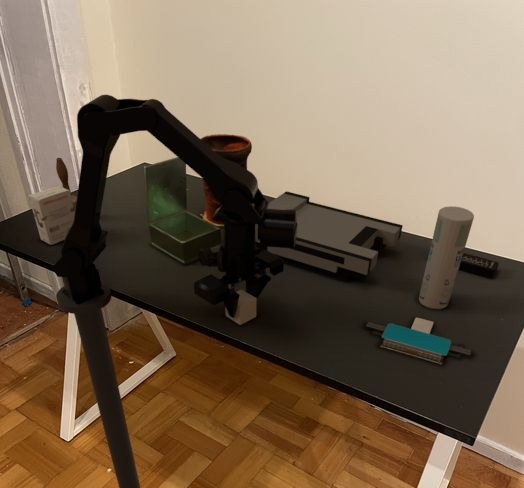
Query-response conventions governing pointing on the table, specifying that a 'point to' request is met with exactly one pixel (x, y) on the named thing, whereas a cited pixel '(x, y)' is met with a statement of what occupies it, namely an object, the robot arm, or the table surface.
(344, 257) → the game console
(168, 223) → the storage tray
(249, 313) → the white block
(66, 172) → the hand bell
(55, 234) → the ink box
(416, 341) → the teal block with rod
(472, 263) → the multiport hub
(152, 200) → the box lid
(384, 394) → the table surface
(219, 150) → the vessel
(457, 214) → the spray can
